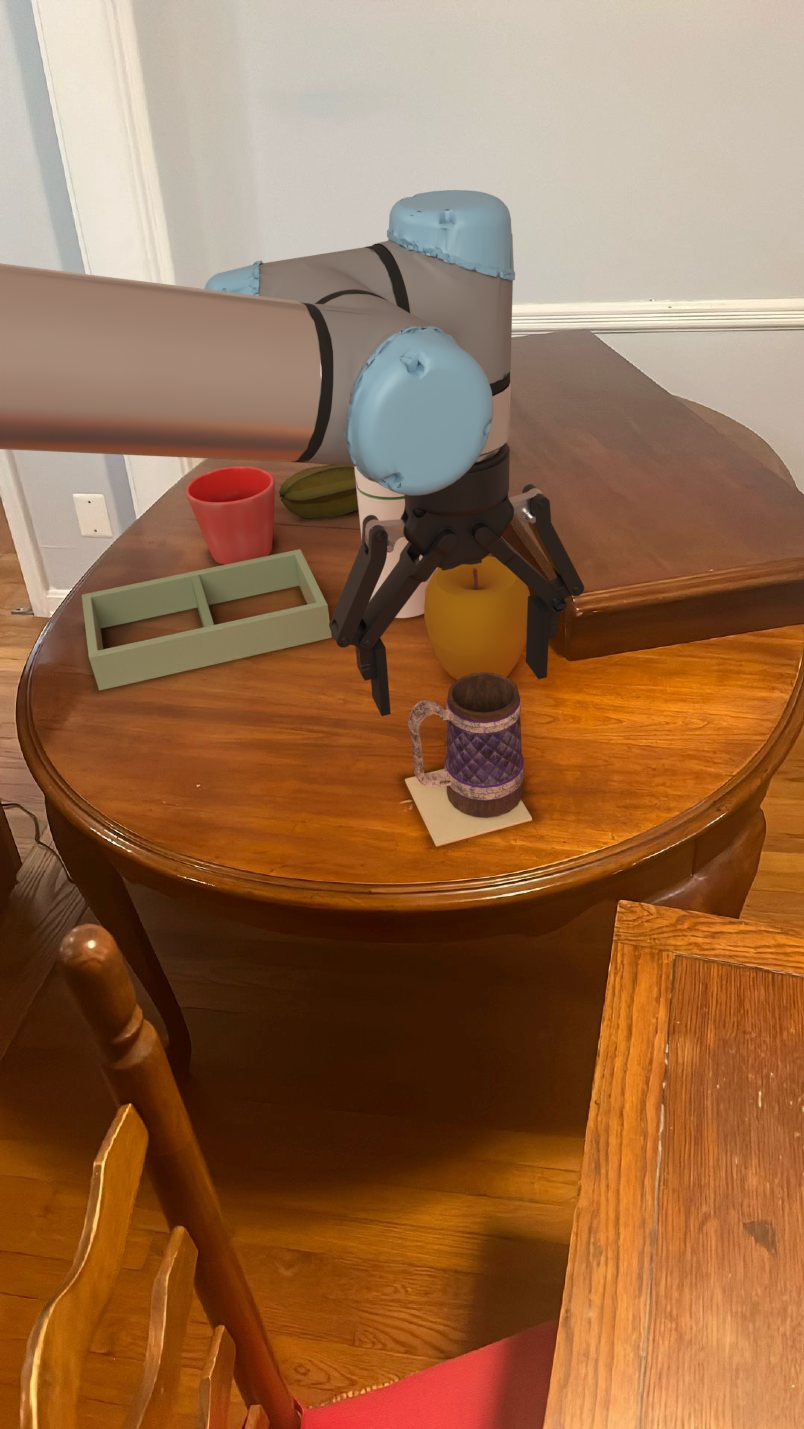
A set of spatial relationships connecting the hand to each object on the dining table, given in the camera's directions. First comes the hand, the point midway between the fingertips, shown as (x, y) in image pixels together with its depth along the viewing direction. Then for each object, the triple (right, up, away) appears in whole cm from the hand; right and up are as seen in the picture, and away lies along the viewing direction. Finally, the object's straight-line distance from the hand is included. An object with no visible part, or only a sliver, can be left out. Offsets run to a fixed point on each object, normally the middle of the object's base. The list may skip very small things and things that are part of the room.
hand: (460, 687), depth 82 cm
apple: (+3, +2, +24) cm, 24 cm away
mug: (+1, -10, +8) cm, 13 cm away
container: (-5, +11, +36) cm, 38 cm away
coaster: (+1, -10, +8) cm, 13 cm away
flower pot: (-25, +19, +47) cm, 57 cm away
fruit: (-14, +25, +54) cm, 62 cm away
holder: (-27, +7, +33) cm, 43 cm away
